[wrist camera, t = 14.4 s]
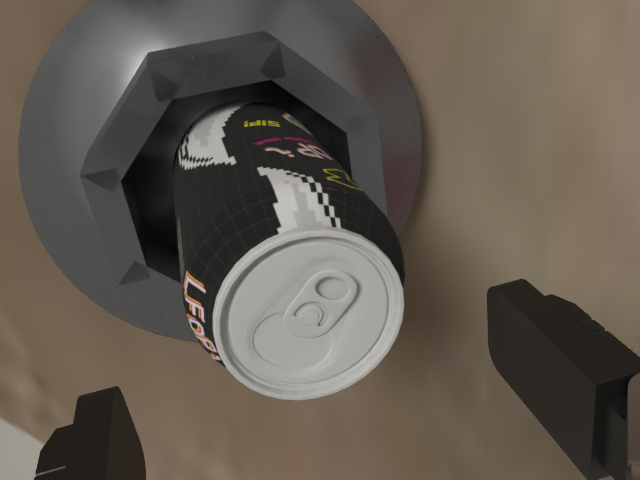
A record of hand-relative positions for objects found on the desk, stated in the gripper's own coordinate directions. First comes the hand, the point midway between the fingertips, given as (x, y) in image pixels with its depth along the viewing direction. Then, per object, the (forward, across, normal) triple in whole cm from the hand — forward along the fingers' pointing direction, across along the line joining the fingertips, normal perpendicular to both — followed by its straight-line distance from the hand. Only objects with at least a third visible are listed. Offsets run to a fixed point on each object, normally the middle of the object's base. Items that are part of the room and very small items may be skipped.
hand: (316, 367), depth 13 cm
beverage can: (+13, 0, 0) cm, 13 cm away
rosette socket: (+15, 0, 0) cm, 15 cm away
